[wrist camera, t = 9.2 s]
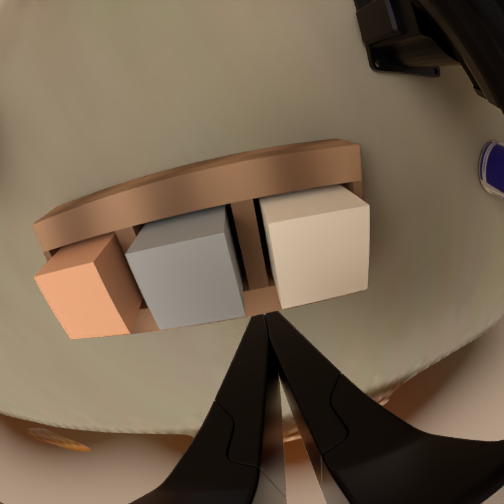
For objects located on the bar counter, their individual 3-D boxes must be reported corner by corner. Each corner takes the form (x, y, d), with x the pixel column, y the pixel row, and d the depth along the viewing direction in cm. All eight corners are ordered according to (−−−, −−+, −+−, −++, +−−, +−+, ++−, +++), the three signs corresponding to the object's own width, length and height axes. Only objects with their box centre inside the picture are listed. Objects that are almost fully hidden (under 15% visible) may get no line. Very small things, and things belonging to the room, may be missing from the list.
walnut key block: (337, 138, 17) (359, 144, 14) (344, 266, 21) (361, 291, 18) (56, 207, 17) (31, 224, 14) (103, 311, 22) (90, 337, 19)
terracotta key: (120, 227, 16) (93, 261, 13) (146, 290, 19) (130, 333, 15) (65, 243, 17) (33, 277, 13) (92, 299, 19) (70, 339, 15)
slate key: (225, 202, 16) (224, 232, 12) (241, 272, 19) (245, 316, 15) (147, 220, 16) (125, 254, 12) (171, 285, 19) (159, 329, 15)
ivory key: (336, 182, 16) (369, 205, 12) (340, 252, 19) (367, 288, 15) (258, 195, 16) (268, 223, 12) (270, 266, 19) (282, 309, 15)
